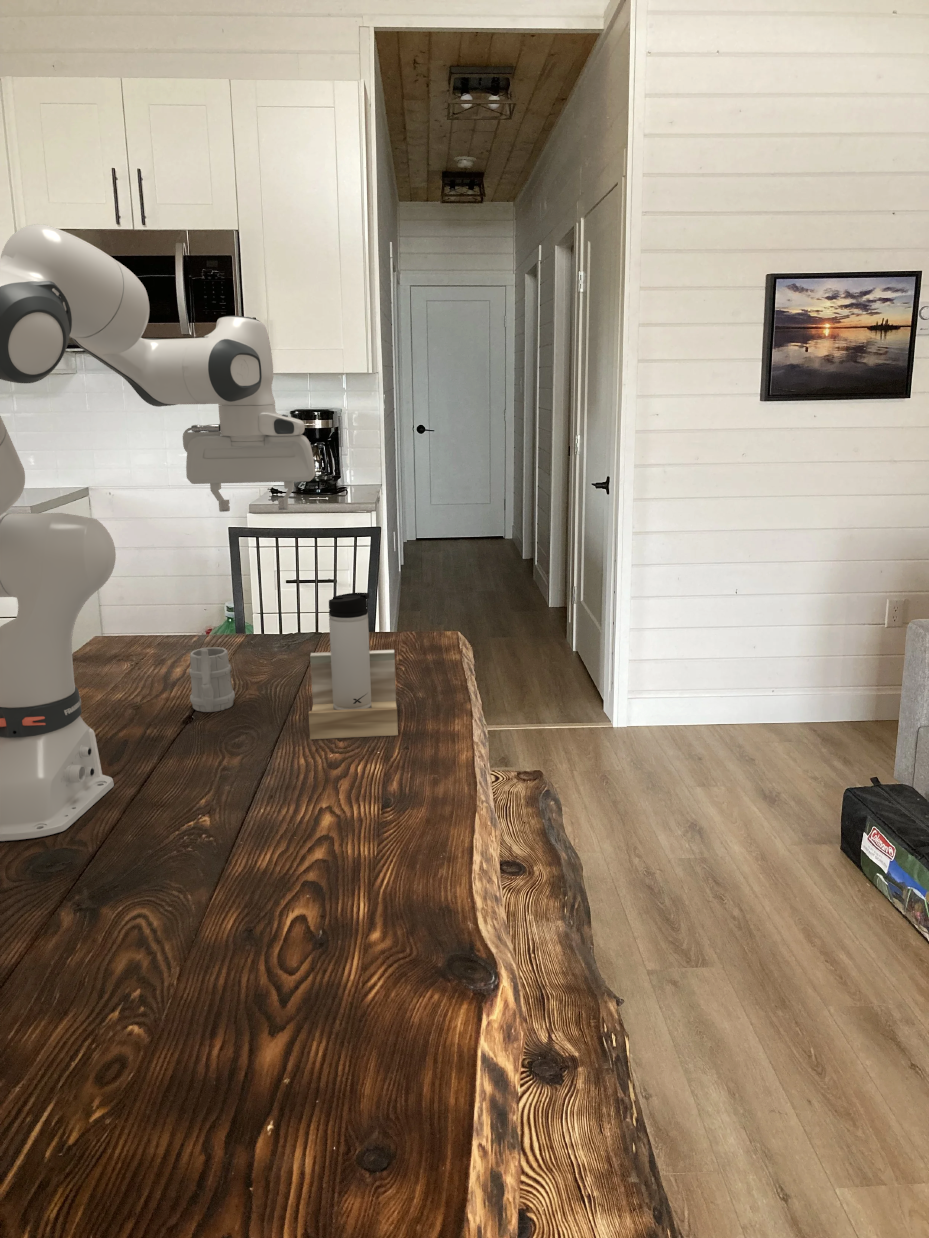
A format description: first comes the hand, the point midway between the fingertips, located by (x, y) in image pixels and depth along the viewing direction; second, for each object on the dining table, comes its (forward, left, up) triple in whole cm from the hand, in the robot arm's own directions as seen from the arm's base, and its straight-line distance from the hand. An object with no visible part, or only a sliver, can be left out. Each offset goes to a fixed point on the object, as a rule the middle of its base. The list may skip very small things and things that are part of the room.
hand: (254, 510), depth 154 cm
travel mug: (-7, -15, -33) cm, 37 cm away
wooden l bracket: (-7, -15, -35) cm, 39 cm away
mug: (+4, +10, -35) cm, 37 cm away
